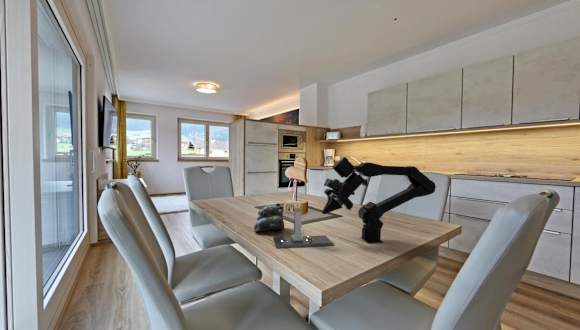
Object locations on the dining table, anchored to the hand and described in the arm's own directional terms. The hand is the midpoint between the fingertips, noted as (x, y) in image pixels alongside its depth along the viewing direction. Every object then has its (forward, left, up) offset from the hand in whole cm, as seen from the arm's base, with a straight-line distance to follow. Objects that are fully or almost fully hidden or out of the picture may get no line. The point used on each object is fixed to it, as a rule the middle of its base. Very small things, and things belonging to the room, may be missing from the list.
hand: (322, 213), depth 94 cm
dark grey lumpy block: (+20, -17, -12) cm, 29 cm away
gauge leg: (+10, 0, -10) cm, 14 cm away
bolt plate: (+8, 0, -11) cm, 14 cm away
